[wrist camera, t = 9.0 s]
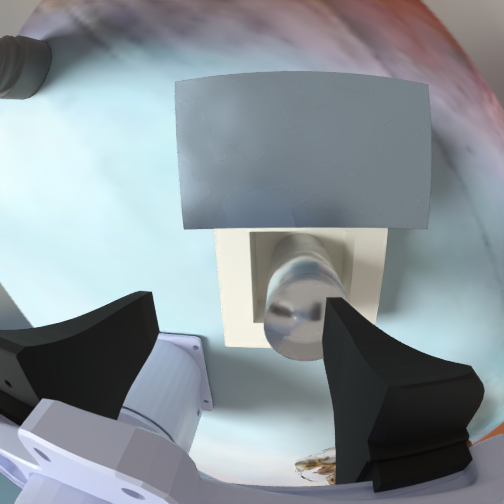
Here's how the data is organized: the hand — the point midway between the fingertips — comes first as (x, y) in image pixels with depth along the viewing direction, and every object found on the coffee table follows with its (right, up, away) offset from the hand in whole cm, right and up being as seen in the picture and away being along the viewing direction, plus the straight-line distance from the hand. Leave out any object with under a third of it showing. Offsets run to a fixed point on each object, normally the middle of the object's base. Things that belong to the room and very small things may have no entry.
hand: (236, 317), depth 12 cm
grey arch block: (+4, +9, +7) cm, 12 cm away
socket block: (+4, +2, +9) cm, 10 cm away
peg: (+4, +2, +8) cm, 9 cm away
